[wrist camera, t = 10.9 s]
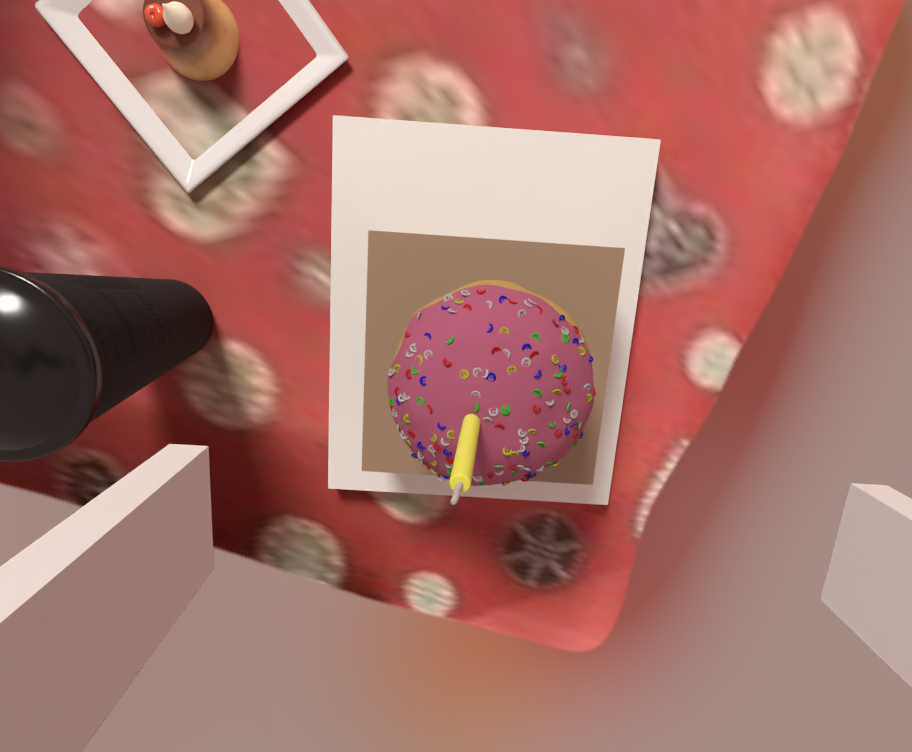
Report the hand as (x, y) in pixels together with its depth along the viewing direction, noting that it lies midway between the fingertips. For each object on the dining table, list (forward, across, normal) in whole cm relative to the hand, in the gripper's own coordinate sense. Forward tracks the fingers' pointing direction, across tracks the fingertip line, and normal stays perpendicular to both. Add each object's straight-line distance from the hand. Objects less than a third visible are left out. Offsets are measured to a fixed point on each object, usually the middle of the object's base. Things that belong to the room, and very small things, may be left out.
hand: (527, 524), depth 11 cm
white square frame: (+24, -16, +16) cm, 33 cm away
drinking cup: (+24, -19, 0) cm, 30 cm away
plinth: (+23, 0, +1) cm, 23 cm away
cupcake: (+16, 0, 0) cm, 16 cm away
